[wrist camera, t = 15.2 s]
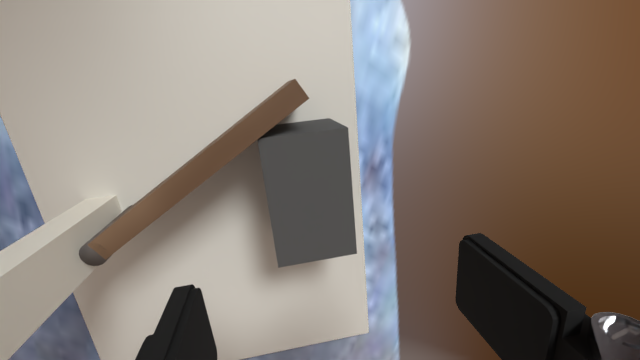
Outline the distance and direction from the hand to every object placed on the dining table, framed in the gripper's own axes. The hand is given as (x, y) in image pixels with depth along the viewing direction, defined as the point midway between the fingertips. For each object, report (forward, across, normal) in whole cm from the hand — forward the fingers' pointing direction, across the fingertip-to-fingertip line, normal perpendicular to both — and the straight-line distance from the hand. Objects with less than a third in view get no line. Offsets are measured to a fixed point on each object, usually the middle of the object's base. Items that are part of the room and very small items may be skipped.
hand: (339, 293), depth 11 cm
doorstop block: (+13, 0, 0) cm, 13 cm away
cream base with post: (+14, +7, +1) cm, 16 cm away
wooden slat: (+13, +6, -3) cm, 14 cm away
